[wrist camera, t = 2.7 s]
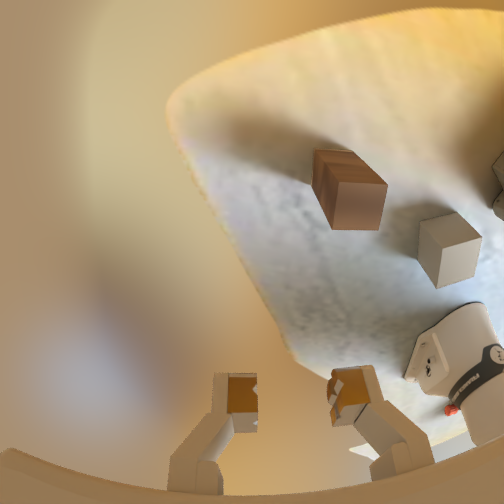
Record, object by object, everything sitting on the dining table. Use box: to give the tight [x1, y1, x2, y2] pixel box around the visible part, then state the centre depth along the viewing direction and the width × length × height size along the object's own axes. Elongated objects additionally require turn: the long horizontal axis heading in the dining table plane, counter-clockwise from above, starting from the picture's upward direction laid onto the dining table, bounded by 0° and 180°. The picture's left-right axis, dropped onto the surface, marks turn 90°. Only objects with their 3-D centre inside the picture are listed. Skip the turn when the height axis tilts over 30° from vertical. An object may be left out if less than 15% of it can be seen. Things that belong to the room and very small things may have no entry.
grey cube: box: [417, 213, 482, 289], centre depth 32 cm, size 6×6×6 cm
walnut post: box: [311, 148, 388, 230], centre depth 26 cm, size 4×4×9 cm
